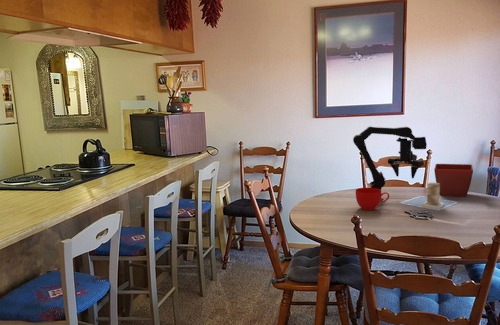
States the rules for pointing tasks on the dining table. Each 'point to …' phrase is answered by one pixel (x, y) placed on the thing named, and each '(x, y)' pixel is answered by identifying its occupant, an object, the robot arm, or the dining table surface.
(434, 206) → the collar
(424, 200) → the board
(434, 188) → the maple pillar
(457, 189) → the plant pot
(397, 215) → the dining table surface
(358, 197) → the ceramic cup
